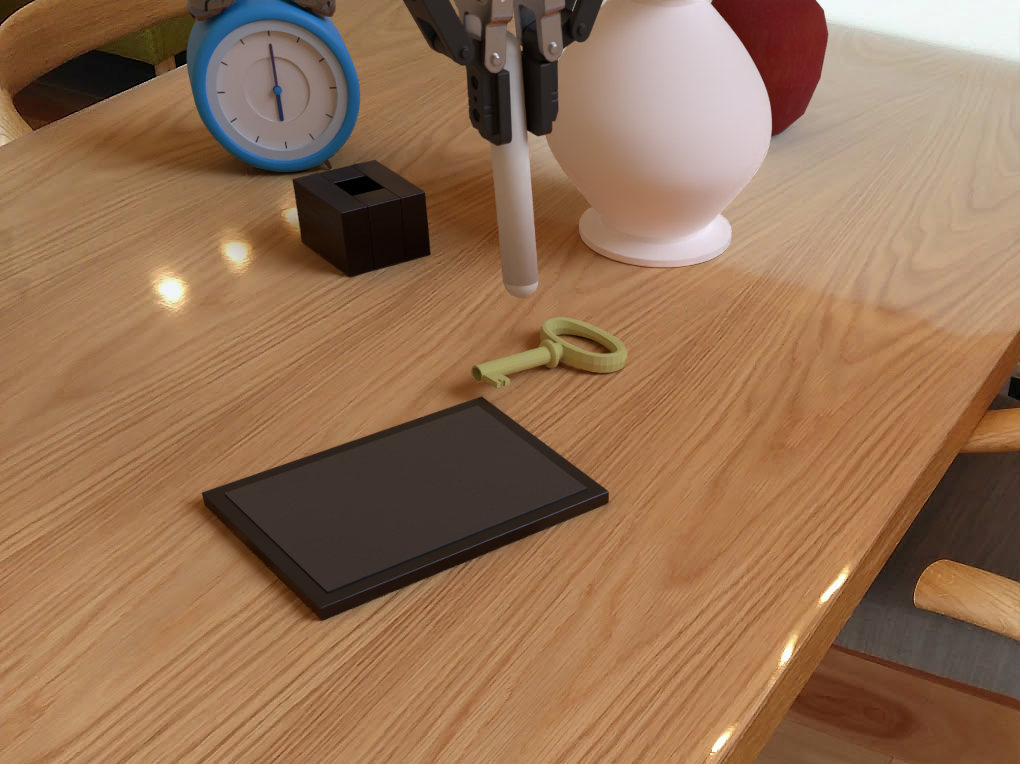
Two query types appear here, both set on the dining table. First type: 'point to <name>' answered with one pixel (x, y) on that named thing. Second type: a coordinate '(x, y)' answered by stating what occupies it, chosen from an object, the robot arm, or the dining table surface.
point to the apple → (781, 49)
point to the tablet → (402, 504)
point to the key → (556, 353)
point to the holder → (362, 217)
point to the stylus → (515, 189)
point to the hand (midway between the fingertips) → (514, 134)
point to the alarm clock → (272, 80)
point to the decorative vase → (659, 129)
